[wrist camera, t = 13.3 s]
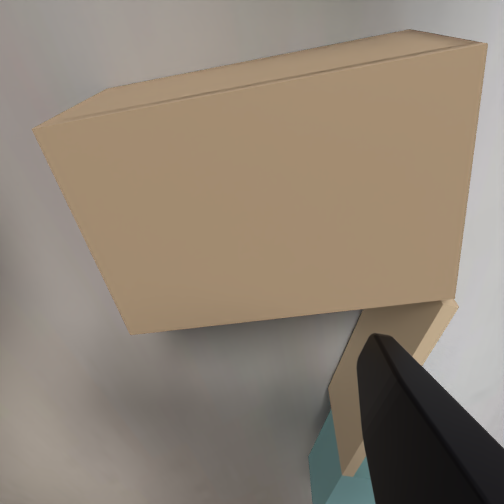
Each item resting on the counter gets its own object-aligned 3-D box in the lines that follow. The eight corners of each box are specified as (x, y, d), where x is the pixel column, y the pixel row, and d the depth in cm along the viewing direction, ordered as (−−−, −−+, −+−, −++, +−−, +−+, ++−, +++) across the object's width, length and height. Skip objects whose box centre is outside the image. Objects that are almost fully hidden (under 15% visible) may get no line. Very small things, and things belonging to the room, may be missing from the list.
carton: (164, 251, 20) (130, 335, 15) (106, 88, 16) (31, 128, 11) (403, 218, 19) (454, 298, 14) (410, 29, 14) (487, 43, 9)
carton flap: (346, 441, 28) (362, 528, 24) (306, 436, 28) (314, 522, 23) (458, 240, 19) (521, 317, 14) (399, 229, 19) (443, 304, 14)
